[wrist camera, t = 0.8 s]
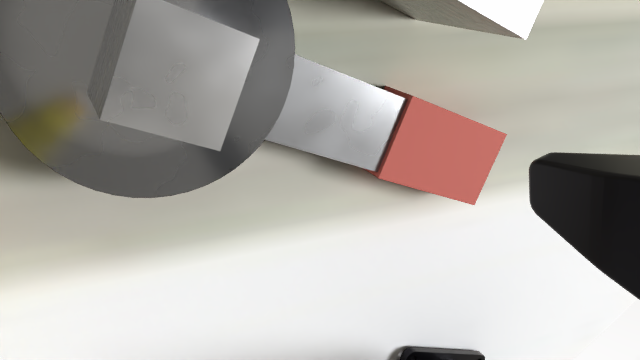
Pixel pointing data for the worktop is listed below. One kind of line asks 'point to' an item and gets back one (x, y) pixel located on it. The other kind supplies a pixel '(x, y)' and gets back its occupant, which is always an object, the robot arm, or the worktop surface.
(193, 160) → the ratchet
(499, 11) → the brushed grey cube
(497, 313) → the worktop surface
